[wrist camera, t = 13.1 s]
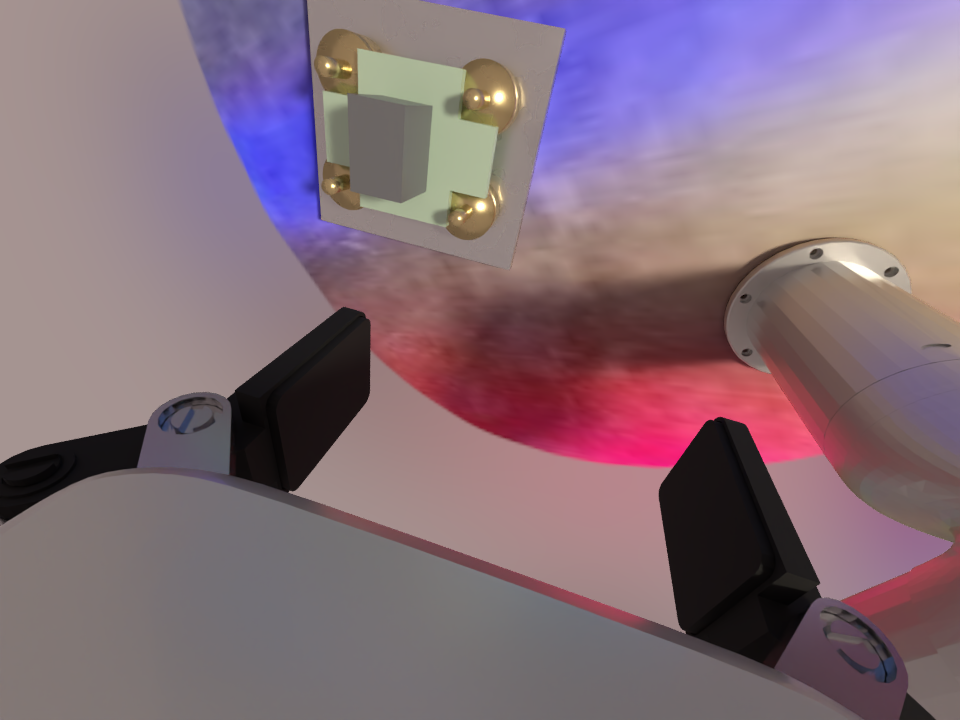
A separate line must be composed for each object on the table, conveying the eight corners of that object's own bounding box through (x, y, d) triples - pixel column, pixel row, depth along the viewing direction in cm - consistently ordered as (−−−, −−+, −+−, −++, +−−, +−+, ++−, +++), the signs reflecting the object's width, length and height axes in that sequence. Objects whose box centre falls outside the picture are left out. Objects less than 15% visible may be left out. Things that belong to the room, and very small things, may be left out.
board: (506, 78, 27) (487, 71, 22) (481, 233, 33) (462, 253, 29) (325, 42, 29) (272, 29, 24) (334, 196, 35) (293, 210, 30)
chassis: (566, 31, 28) (558, 12, 22) (511, 266, 38) (497, 292, 33) (315, -18, 30) (252, -46, 25) (327, 217, 40) (285, 234, 35)
